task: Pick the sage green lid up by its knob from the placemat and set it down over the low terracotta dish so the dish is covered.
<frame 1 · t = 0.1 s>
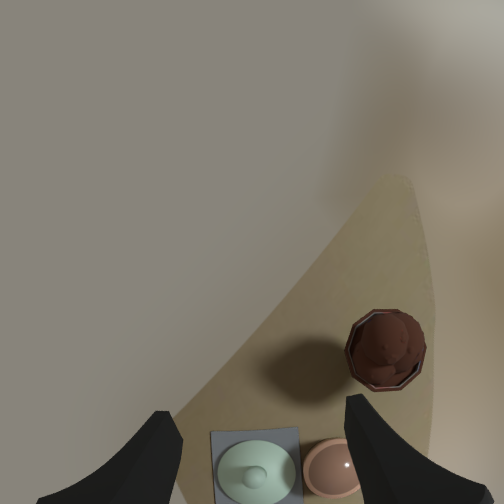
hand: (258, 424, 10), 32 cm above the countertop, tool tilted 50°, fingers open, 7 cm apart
lid: (256, 473, 33), resting on placemat
placemat: (256, 473, 33), on the countertop
ice cream bowl: (368, 363, 40), on the countertop
dish: (333, 465, 32), on the countertop
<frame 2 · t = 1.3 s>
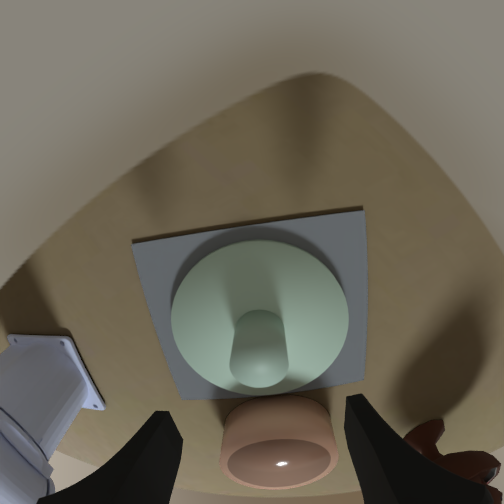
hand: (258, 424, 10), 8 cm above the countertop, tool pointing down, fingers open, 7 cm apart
lid: (259, 324, 18), resting on placemat
placemat: (259, 323, 18), on the countertop
ice cream bowl: (421, 435, 22), on the countertop
dish: (277, 429, 21), on the countertop
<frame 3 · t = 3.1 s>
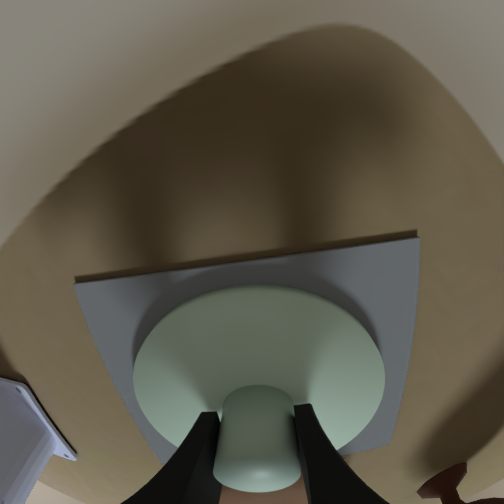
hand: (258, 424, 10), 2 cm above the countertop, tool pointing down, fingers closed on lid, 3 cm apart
lid: (258, 396, 12), resting on placemat, touching gripper
placemat: (259, 393, 12), on the countertop
ice cream bowl: (441, 478, 16), on the countertop
dish: (280, 492, 15), on the countertop
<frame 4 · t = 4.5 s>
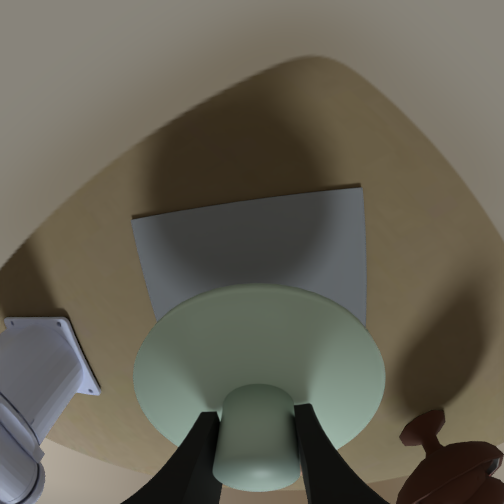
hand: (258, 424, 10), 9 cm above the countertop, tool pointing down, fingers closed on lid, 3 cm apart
lid: (259, 395, 12), point 7 cm above the countertop, touching gripper
placemat: (258, 301, 18), on the countertop
ice cream bowl: (422, 426, 22), on the countertop
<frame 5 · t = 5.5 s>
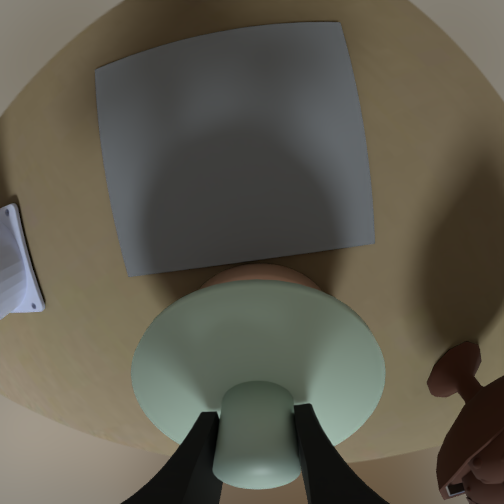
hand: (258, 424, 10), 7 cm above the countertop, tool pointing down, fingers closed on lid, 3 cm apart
lid: (258, 392, 12), point 5 cm above the countertop, touching gripper
placemat: (228, 140, 14), on the countertop
ice cream bowl: (453, 368, 18), on the countertop
dish: (259, 334, 17), on the countertop
when the fingers open (7 cm above the countertop, at t = 6.2 s): lid drops 1 cm, resting on dish.
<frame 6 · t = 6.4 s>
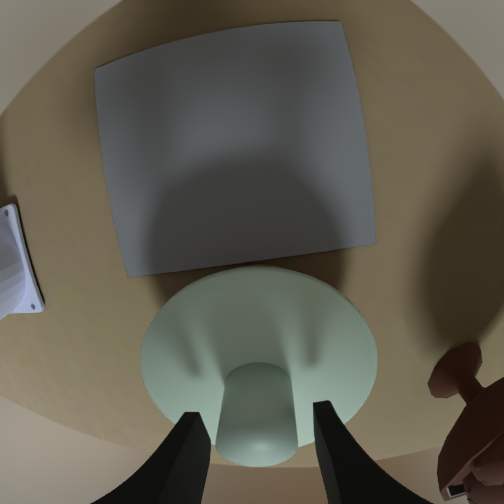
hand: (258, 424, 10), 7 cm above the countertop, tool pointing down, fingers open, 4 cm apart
lid: (258, 376, 13), point 4 cm above the countertop, touching dish
placemat: (228, 140, 14), on the countertop
ice cream bowl: (454, 369, 18), on the countertop
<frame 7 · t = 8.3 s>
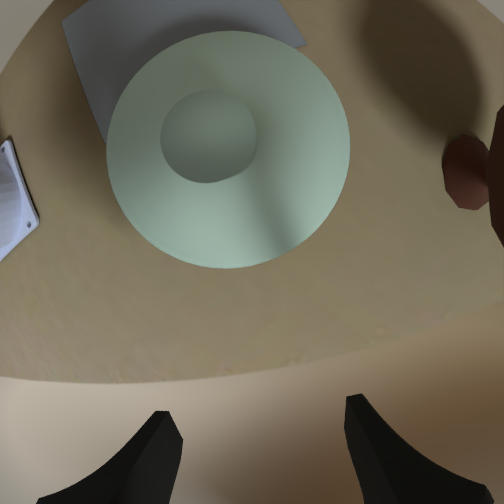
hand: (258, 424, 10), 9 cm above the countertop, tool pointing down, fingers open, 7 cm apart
lid: (223, 145, 13), point 4 cm above the countertop, touching dish
placemat: (163, 18, 14), on the countertop
ice cream bowl: (468, 172, 16), on the countertop
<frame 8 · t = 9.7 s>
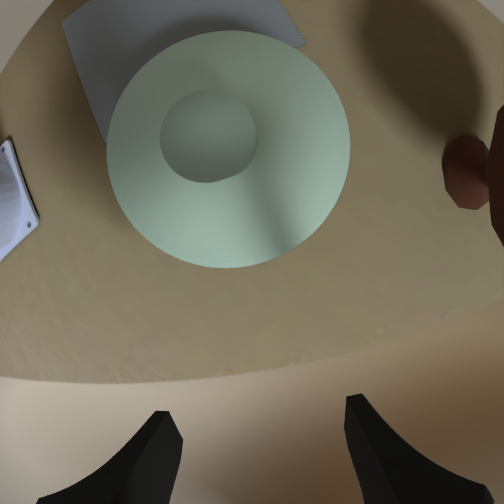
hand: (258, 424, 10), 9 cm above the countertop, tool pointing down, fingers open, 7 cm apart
lid: (223, 144, 13), point 4 cm above the countertop, touching dish
placemat: (163, 18, 14), on the countertop
ice cream bowl: (468, 172, 16), on the countertop
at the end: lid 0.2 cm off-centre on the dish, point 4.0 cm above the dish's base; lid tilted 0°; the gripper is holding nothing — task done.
